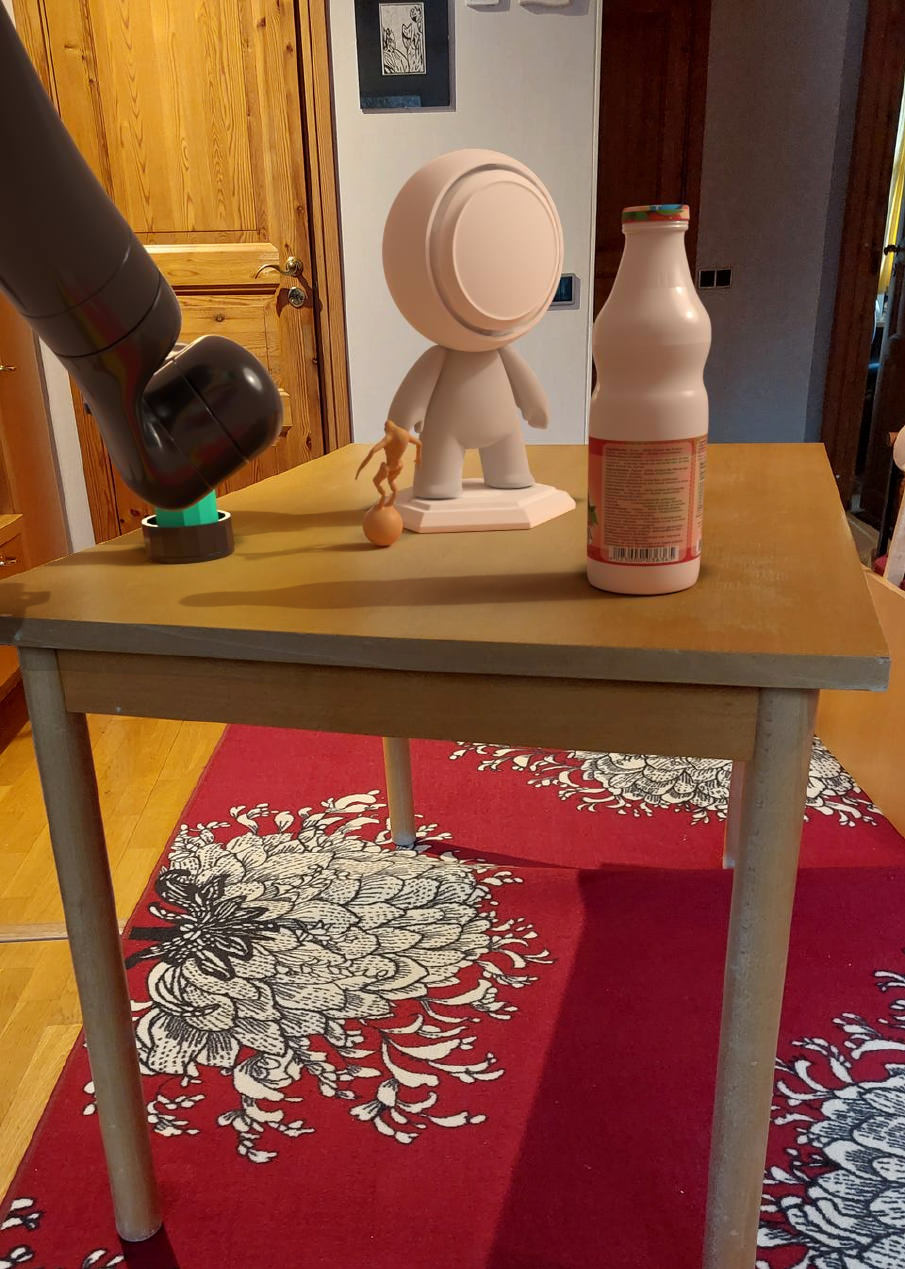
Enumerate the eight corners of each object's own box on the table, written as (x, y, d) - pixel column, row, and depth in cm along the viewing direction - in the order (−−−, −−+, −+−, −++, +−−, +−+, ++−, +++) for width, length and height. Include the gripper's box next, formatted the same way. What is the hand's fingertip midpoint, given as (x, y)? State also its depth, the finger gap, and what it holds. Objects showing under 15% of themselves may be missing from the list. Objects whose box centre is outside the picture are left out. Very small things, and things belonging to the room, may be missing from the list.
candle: (148, 552, 108) (128, 424, 103) (183, 539, 113) (166, 416, 108) (199, 555, 106) (181, 425, 101) (233, 542, 111) (218, 417, 106)
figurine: (400, 535, 114) (393, 413, 109) (441, 543, 110) (436, 416, 105) (339, 550, 109) (328, 422, 103) (379, 559, 105) (371, 426, 99)
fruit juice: (640, 603, 87) (655, 201, 75) (563, 581, 94) (565, 211, 82) (722, 582, 92) (749, 201, 80) (643, 563, 99) (656, 210, 87)
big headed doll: (447, 542, 110) (431, 134, 95) (348, 509, 128) (321, 162, 113) (607, 516, 119) (616, 139, 104) (493, 488, 137) (486, 163, 122)
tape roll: (167, 568, 105) (161, 531, 103) (134, 553, 111) (128, 518, 109) (249, 553, 109) (245, 517, 107) (213, 540, 115) (208, 506, 114)
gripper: (86, 460, 79) (90, 433, 93) (284, 446, 82) (259, 422, 96) (67, 348, 76) (74, 337, 90) (273, 338, 79) (249, 329, 93)
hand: (169, 381), depth 93 cm, fingers open, 8 cm apart
